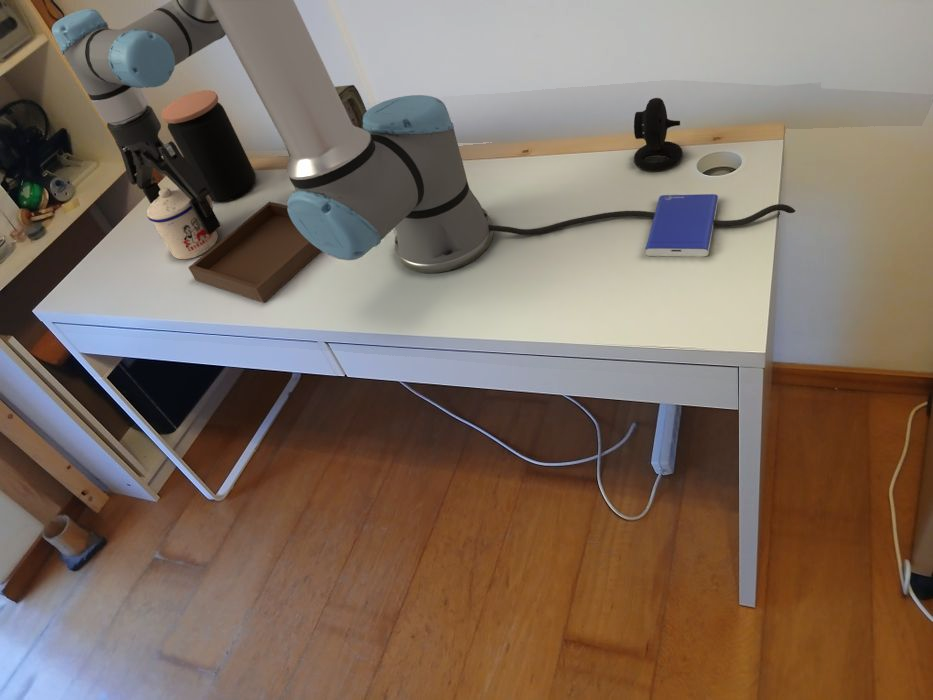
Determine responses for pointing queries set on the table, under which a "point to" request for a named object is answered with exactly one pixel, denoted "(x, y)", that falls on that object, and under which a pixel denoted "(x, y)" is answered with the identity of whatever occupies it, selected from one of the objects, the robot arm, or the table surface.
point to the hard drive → (682, 225)
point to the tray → (256, 255)
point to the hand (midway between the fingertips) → (190, 223)
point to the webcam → (655, 137)
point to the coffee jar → (210, 144)
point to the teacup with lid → (180, 224)
